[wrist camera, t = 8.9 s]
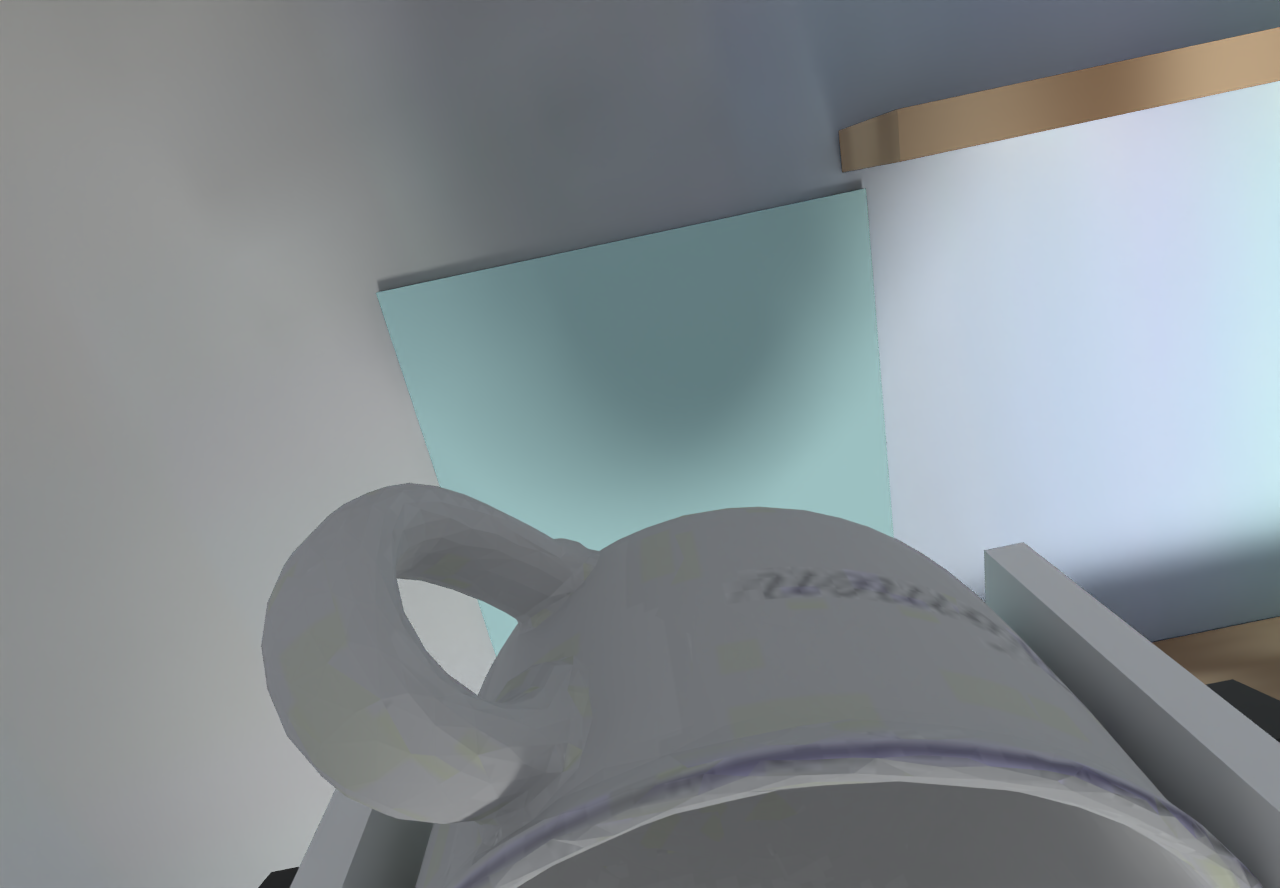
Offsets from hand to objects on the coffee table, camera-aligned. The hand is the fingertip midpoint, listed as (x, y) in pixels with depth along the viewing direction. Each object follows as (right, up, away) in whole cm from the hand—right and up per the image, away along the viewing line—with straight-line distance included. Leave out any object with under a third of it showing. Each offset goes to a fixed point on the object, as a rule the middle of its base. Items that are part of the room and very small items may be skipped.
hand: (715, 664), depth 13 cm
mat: (0, +2, +7) cm, 7 cm away
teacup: (-1, 0, +2) cm, 2 cm away
